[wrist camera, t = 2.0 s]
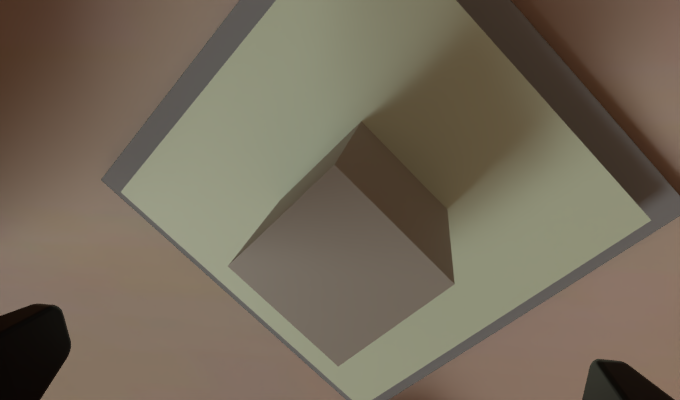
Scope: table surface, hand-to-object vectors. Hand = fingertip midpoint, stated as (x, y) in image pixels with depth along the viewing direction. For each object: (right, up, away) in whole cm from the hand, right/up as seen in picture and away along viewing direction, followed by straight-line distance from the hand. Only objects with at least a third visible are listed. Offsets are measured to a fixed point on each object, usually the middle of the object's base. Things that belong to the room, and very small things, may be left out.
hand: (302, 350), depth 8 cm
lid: (+1, +3, +7) cm, 8 cm away
